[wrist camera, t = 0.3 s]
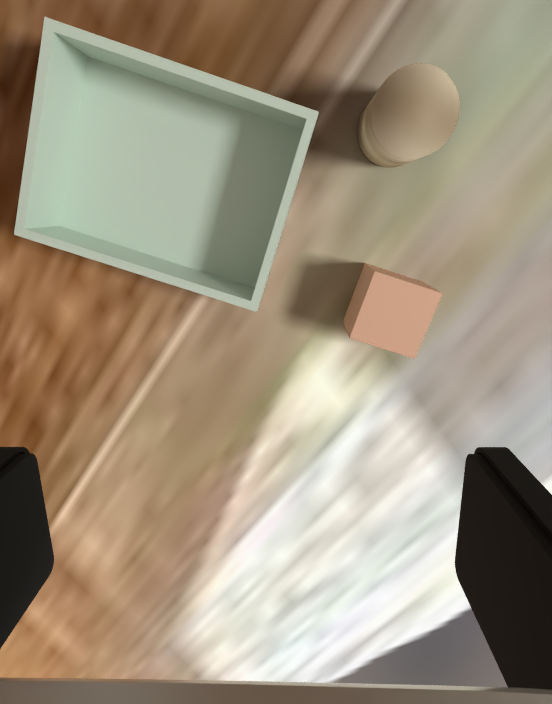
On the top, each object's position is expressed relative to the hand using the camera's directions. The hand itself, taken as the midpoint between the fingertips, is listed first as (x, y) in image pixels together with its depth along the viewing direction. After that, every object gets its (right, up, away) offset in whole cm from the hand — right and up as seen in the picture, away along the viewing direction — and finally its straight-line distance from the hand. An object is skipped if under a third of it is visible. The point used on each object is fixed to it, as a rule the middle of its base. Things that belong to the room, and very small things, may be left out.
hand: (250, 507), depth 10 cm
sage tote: (-7, +16, +25) cm, 31 cm away
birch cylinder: (+9, +19, +24) cm, 32 cm away
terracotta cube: (+9, +7, +28) cm, 30 cm away
